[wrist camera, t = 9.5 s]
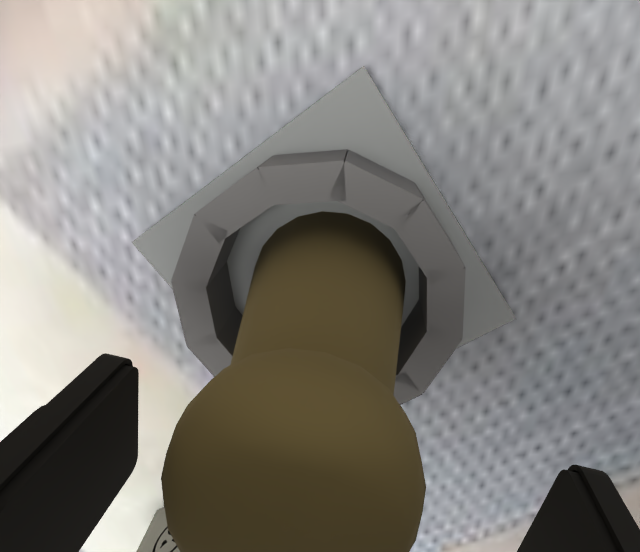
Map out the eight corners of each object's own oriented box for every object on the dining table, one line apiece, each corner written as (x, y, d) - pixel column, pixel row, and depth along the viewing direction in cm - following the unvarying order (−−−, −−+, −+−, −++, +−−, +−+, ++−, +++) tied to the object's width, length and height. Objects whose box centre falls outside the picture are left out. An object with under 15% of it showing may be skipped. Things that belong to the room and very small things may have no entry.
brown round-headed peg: (301, 180, 16) (192, 345, 6) (437, 264, 17) (547, 538, 7) (228, 303, 18) (62, 573, 8) (351, 373, 19) (337, 696, 9)
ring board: (508, 307, 18) (539, 354, 15) (296, 413, 21) (284, 471, 18) (364, 67, 15) (363, 62, 12) (143, 234, 18) (96, 265, 15)
